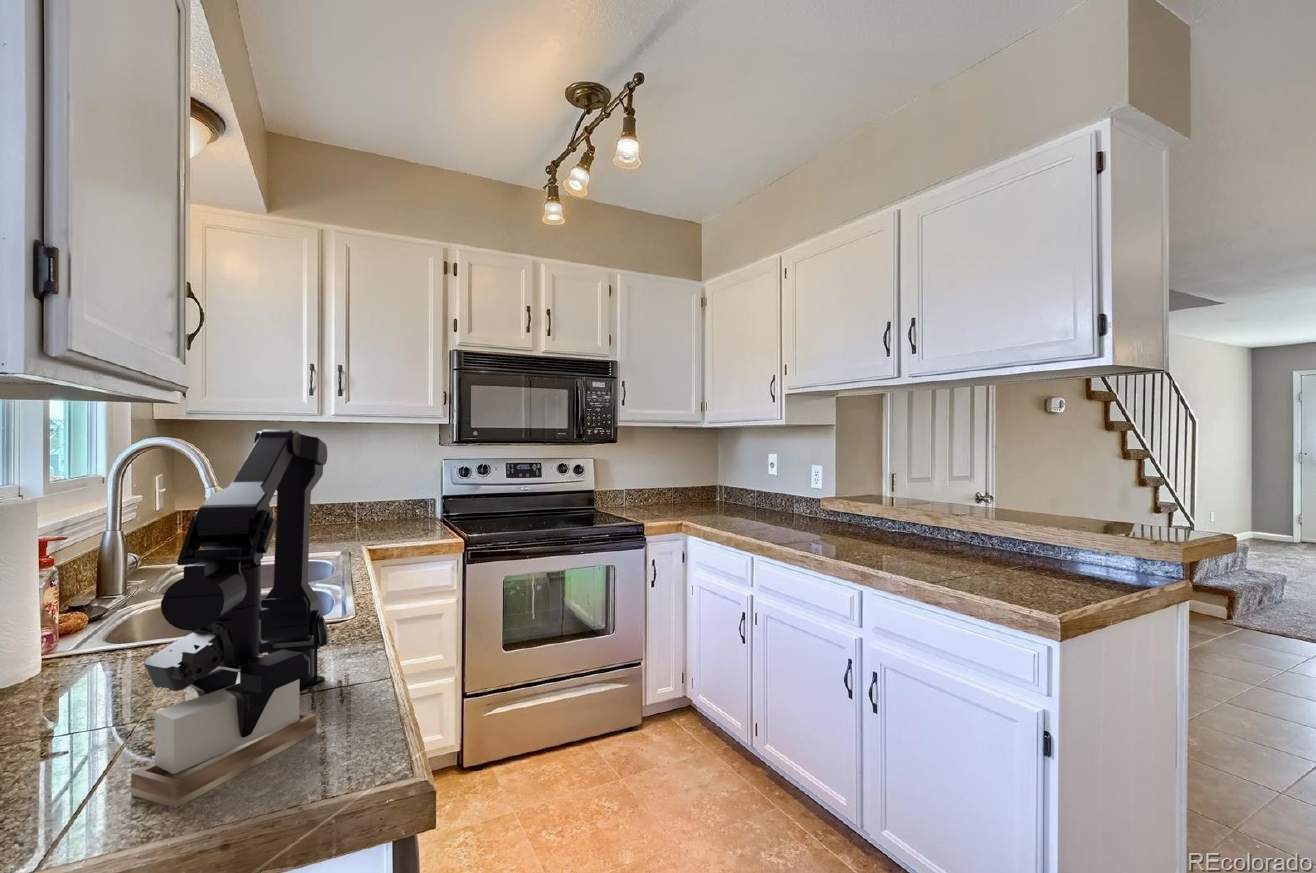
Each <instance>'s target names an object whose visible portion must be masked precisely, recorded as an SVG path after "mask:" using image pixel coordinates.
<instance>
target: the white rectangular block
mask: <svg viewBox="0 0 1316 873" xmlns="http://www.w3.org/2000/svg"><path fill="white" fill-rule="evenodd" d="M239 683H240V682H238V683H236V684H239ZM299 683H300V679H298V680H296V681H294V682H291V683H289V684H287V685H284V686H282V687H280V688H277V689H275V691H274V692H273V694H272V695H271V697H270V699H269V701H268V703H267V704H266V706H265V708H264V710H263V712H262V714H261V716H260V718H259V720H258V722H257V724H256V726H255V728H254V730H253V732H252V734H251V735H249V736H247V737H245V738H243V737H241V735H240V730H239V723H238V712H237V701H236V697H235V696H233V695H231V694H230V693H228V692H227V691H225V689H226V688H228V687H226V688H223V689H220V690H217V691H214V692H212V693H209V694H206V695H203V696H200V697H199V696H198V697H194V698H192V699H188V700H186V701H183V702H179V703H177V704H173V705H171V706H168V707H165V708H162V709H159V710H156V711H155V712H154V763H155V765H156V766H158V767H160V768H162V769H164V770H166V771H168V772H170V773H172V774H175V773H177V772H180V771H182V770H184V769H187V768H189V767H191V766H194V765H196V764H198V763H201V762H203V761H205V760H208V759H210V758H212V757H215V756H217V755H219V754H222V753H224V752H226V751H229V750H231V749H233V748H236V747H238V746H240V745H243V744H245V743H247V742H250V741H252V740H254V739H257V738H259V737H261V736H264V735H266V734H268V733H271V732H273V731H275V730H278V729H280V728H282V727H285V726H287V725H289V724H292V723H294V722H296V721H299V711H300V692H299ZM236 684H235V685H236ZM232 686H233V685H232ZM229 687H231V686H229Z"/></svg>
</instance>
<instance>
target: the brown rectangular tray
mask: <svg viewBox="0 0 1316 873" xmlns="http://www.w3.org/2000/svg"><path fill="white" fill-rule="evenodd" d="M316 733H317V714H315V713H310V712H306V711H300V710H299V721H296V722H294V723H292V724H289V725H287V726H285V727H282V728H280V729H278V730H275V731H273V732H271V733H268V734H266V735H264V736H261V737H259V738H257V739H254V740H252V741H250V742H247V743H245V744H243V745H240V746H238V747H236V748H233V749H231V750H229V751H226V752H224V753H222V754H219V755H217V756H215V757H212V758H210V759H208V760H205V761H203V762H201V763H198V764H196V765H194V766H191V767H189V768H187V769H184V770H182V771H180V772H177V773H175V774H172V773H170V772H168V771H166V770H164V769H162V768H160V767H158V766H156V765H155V762H153V763H150V764H148V765H146V766H144V767H142V768H139V769H138V770H135V771H133V772H131V774H130V775H131V778H130V781H131V782H130V783H131V784H130V786H131V788H130V789H131V791H130V793H131V794H130V796H134V797H137V798H140V799H144V800H146V801H150V802H152V803H153V802H154V803H157V804H160V805H164V806H167V807H171V808H174V809H177V808H179V807H182V806H183V805H185V804H186V803H187V804H188V803H190V801H192V800H195V799H196V798H198V797H200V796H202V795H203V794H205V793H207V792H210V791H211V790H213V789H215V788H216V787H218V786H220V785H222V784H224V783H226V782H227V781H230V780H231V779H233V778H235V777H237V776H238V775H240V774H242V773H245V772H246V771H248V770H249V769H251V768H253V767H255V766H257V765H259V764H261V763H263V762H264V761H266V760H268V759H271V758H272V757H274V756H276V755H278V754H279V753H281V752H283V751H285V750H288V748H291V747H292V746H294V745H296V744H298V743H300V742H301V741H303V740H305V739H307V738H309V737H311V736H313V735H315V734H316Z"/></svg>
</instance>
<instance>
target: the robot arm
mask: <svg viewBox="0 0 1316 873" xmlns="http://www.w3.org/2000/svg"><path fill="white" fill-rule="evenodd" d="M327 461H328V446H327V444H326V443H325V442H324V441H322V439H321V438H319V437H318V436H310V435H305V434H303V433H301V432H299V431H297V430H296V431H294V430H293V429H262V430H259V431H256V435H255V437H254V444H253V447H252V448H251V450H250V451H249V453H248V455H247V456H246V458H245V460H244V462H242V465H241V467H240V468H239V469H238V472H237V474H236V475H235V477H234V478H233V480H232V482H231V483H230V484H229V485H228V486H227V487H225V488H223V489H220V490H218V491H216V492H214V493H211V495H209V496H208V497H207V499H206V500H205V501H204V502H203V503H202V504H200V506H199V508H197V511H196V512H195V513H194V514H193V515H192V516H191V520H190V523H189V525H188V528H187V532H186V535H185V537H184V541H183V543H182V546H181V549H180V553H179V556H178V559H177V561H176V563H177V564H176V565H177V566H184V567H183V577H182V578H180V579H179V580H176V581H175V582H173V584H171V585H170V586H169V587H168V588H167V590H166V591H165V592H164V594H163V597H162V599H161V600H160V609H161V614H162V616H163V619H165V621H166V622H168V624H170V625H171V626H172V627H174V628H176V629H179V630H181V631H191V632H190V633H188V634H187V635H186V636H184V637H182V638H179V639H177V640H175V641H174V642H172V643H170V644H168V645H167V646H165V647H163V648H162V649H160V650H159V651H157V652H156V653H154V654H153V655H151V656H149V657H148V658H147V659H146V660H145V661H144V662H143V664H144V667H145V670H146V671H147V673H148V675H149V678H150V680H151V681H152V684H153V686H154V688H157V689H159V688H163V689H169V690H170V691H172V692H177V691H182V690H185V689H186V688H188V687H189V688H191V689H194V690H195V692H196V693H197V695H198V697H200V696H203V695H206V694H209V693H212V692H214V691H217V690H220V689H223V688H226V687H228V688H226V689H225V691H227V692H228V693H230V694H231V695H233V696H235V697H236V701H237V712H238V723H239V730H240V735H241V737H243V738H245V737H247V736H249V735H251V734H252V732H253V730H254V728H255V726H256V724H257V722H258V720H259V718H260V716H261V714H262V712H263V710H264V708H265V706H266V704H267V703H268V701H269V699H270V697H271V695H272V694H273V692H274V691H275V689H277V688H280V687H282V686H284V685H287V684H289V683H291V682H294V681H296V680H298V679H300V683H299V693H300V692H302V691H304V690H308V689H309V688H312V687H313V686H316V685H318V684H320V683H322V682H323V683H324V681H325V680H326V677H325V676H320V675H318V674H319V673H318V672H319V670H318V669H319V668H318V661H319V660H318V658H319V657H318V656H319V655H318V654H319V653H318V651H319V649H320V648H321V647H324V646H325V647H326V646H328V644H329V643H328V642H329V637H328V636H329V635H328V626H327V623H326V620H325V618H324V615H323V612H322V610H321V609H320V608H319V605H320V603H319V602H320V601H319V597H318V595H317V594H316V592H315V590H314V589H313V588H312V586H311V585H310V584H309V580H308V579H309V558H310V557H309V555H310V554H309V553H310V552H309V551H310V550H309V549H310V527H311V526H310V525H311V524H310V523H311V500H312V499H311V498H312V496H311V495H312V491H313V489H314V488H315V487H316V485H317V484H318V482H319V481H320V480H321V478H322V477H323V474H324V473H323V472H324V466H326V464H327ZM275 493H276V511H275V512H276V513H275V514H276V515H275V516H276V517H275V518H274V514H273V512H272V510H271V506H270V503H271V501H272V498H273V496H274V494H275ZM274 532H275V534H274ZM273 535H275V540H274V541H275V542H274V543H275V544H274V560H273V562H274V563H273V564H274V566H273V585H272V586H273V587H272V588H271V589H270V591H269V592H268V593H267V595H266V596H265V597H264V599H262V560H263V558H264V554H267V552H268V550H269V546H270V544H271V541H272V538H273ZM200 548H202V549H200ZM262 654H266V655H263V656H261V657H259V656H260V655H262ZM238 674H239V675H238ZM238 676H239V682H238V683H239V684H238V683H237V679H238ZM235 684H236V685H235ZM232 685H233V686H232ZM229 686H231V687H229Z"/></svg>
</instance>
